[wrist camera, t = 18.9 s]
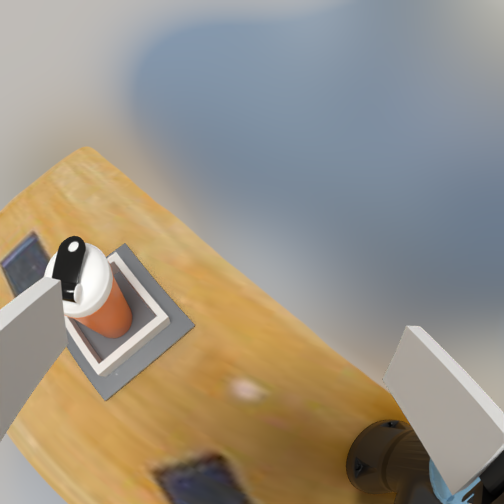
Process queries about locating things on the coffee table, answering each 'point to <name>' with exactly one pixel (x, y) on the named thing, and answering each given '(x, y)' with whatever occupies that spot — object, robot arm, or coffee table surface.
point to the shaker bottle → (89, 288)
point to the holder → (139, 334)
